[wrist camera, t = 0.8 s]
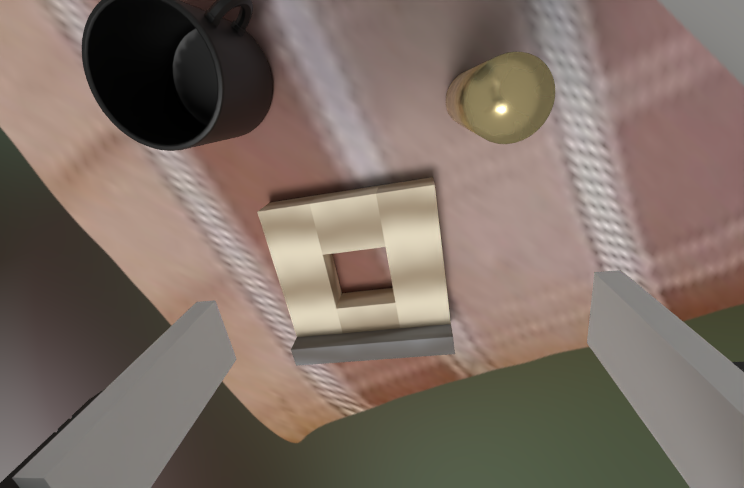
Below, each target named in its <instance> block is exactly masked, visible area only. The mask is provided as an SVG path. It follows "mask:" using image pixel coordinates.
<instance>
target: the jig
mask: <svg viewBox="0 0 744 488" xmlns="http://www.w3.org/2000/svg"><path fill="white" fill-rule="evenodd" d="M258 215H259V218H260V221H261V225H262V228H263V231H264V234H265V237H266V240H267V244H268V247H269V250H270V253H271V256H272V259H273V263H274V266H275V269H276V272H277V275H278V278H279V282H280V285H281V288H282V291H283V294H284V298H285V301H286V304H287V307H288V310H289V313H290V317H291V320H292V323H293V326H294V329H295V332H296V336H297V338H296V340H295V343H294V345H293V347H292V349H291V351H292V354H293V357H294V360H295V363H296V365H309V364H323V363H337V362H351V361H365V360H378V359H392V358H406V357H420V356H433V355H447V354H455V350H454V342H453V334H452V328H451V322H450V313H449V305H448V296H447V287H446V279H445V270H444V261H443V253H442V244H441V236H440V227H439V218H438V210H437V201H436V192H435V184H434V180H433V177H431V178H424V179H418V180H411V181H405V182H399V183H392V184H386V185H379V186H373V187H367V188H360V189H354V190H347V191H341V192H334V193H328V194H322V195H315V196H309V197H302V198H296V199H290V200H283V201H277V202H270V203H269V204H267V205H266V206H265V207H263V208H262V209H260V210H259V211H258ZM380 247H386V252H387V258H388V263H389V269H390V274H391V280H392V286H393V288H387V289H377V290H368V291H358V292H349V293H342V292H341V288H340V284H339V279H338V275H337V271H336V267H335V263H334V259H333V255H332V253H340V252H348V251H356V250H364V249H372V248H380Z"/></svg>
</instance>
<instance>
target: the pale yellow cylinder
mask: <svg viewBox="0 0 744 488" xmlns="http://www.w3.org/2000/svg"><path fill="white" fill-rule="evenodd" d="M554 99H555V84H554V79H553V76H552V74H551V72H550V70H549V68H548V67H547V65H546V64H545V63H544V62H543V61H542V60H540V59H539V58H538V57H536V56H534V55H532V54H528V53H524V52H510V53H506V54H502V55H500V56H497V57H495V58H493V59H491V60H489V61H487V62H485V63H482V64H480V65H478V66H476V67H474V68H472V69H469V70H467V71H465V72H463V73H461V74H460V75H459V76H457V77H456V78H455V79H454V80H453V82H452V83H451V85H450V86H449V88H448V91H447V95H446V107H447V111H448V113H449V115H450V116H451V118H452V119H453V120H454V121H455V122H457V123H458V124H460V125H462V126H463V127H465V128H467V129H469V130H470V131H472V132H474V133H476V134H477V135H479V136H481V137H482V138H484V139H486V140H488V141H490V142H494V143H498V144H510V143H515V142H519V141H521V140H524V139H526V138H528V137H529V136H531V135H532V134H534V133H535V132H536V131H537V130H538V129H539V128H540V127H541V126H542V125H543V124H544V122H545V121H546V119H547V118H548V116H549V114H550V112H551V110H552V107H553V104H554Z"/></svg>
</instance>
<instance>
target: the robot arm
mask: <svg viewBox="0 0 744 488" xmlns="http://www.w3.org/2000/svg"><path fill="white" fill-rule="evenodd" d="M587 343H588V345H589V346H590V348H591V349H592V350H593V352H594V353H595V355H596V356H597V358H598V359H599V360H600V362H601V363H602V364H603V366H604V367H605V369H606V370H607V372H608V373H609V374H610V376H611V377H612V379H613V380H614V381H615V383H616V384H617V385H618V387H619V388H620V390H621V391H622V393H623V394H624V395H625V397H626V398H627V399H628V401H629V402H630V404H631V405H632V406H633V408H634V409H635V411H636V412H637V414H638V415H639V416H640V418H641V419H642V421H643V422H644V423H645V425H646V426H647V428H648V429H649V430H650V432H651V433H652V435H653V436H654V437H655V439H656V440H657V442H658V443H659V444H660V446H661V447H662V449H663V450H664V451H665V453H666V454H667V456H668V457H669V459H670V460H671V461H672V463H673V464H674V466H675V467H676V468H677V470H678V471H679V473H680V474H681V475H682V477H683V478H684V480H685V481H686V482H687V484H688V485H689V486H690V488H744V362H731V361H730V360H728V359H727V358H726V357H725V356H724V355H722V354H721V353H720V352H719V351H717V350H716V349H715V348H714V347H713V346H712V345H710V344H709V343H708V342H707V341H705V340H704V339H703V338H702V337H701V336H699V335H698V334H697V333H696V332H695V331H693V330H692V329H691V328H690V327H689V326H687V325H686V324H685V323H684V322H683V321H681V320H680V319H679V318H678V317H677V316H675V315H674V314H673V313H672V312H671V311H669V310H668V309H667V308H666V307H664V306H663V305H662V304H661V303H660V302H658V301H657V300H656V299H655V298H654V297H652V296H651V295H650V294H649V293H648V292H646V291H645V290H644V289H643V288H642V287H640V286H639V285H638V284H637V283H636V282H634V281H633V280H632V279H631V278H630V277H628V276H627V275H626V274H625V273H623V272H622V271H621V270H619V271H605V272H594V282H593V292H592V301H591V311H590V320H589V330H588V340H587ZM235 361H236V356H235V354H234V351H233V348H232V345H231V343H230V340H229V337H228V334H227V331H226V329H225V326H224V323H223V320H222V318H221V315H220V312H219V309H218V307H217V304H216V301H203V302H196V303H195V304H194V305H193V306H192V307H191V308H190V309H189V310H188V311H187V312H186V313H185V314H184V315H183V316H181V317H180V318H179V319H178V320H177V321H176V322H175V323H174V324H173V325H172V326H171V327H170V328H169V329H168V330H167V331H166V332H165V333H164V334H163V335H162V336H160V337H159V338H158V339H157V340H156V341H155V342H154V343H153V344H152V345H151V346H150V347H149V348H148V349H147V350H146V351H145V352H144V353H143V354H142V355H141V356H139V357H138V358H137V359H136V361H134V362H133V363H132V364H131V365H130V366H129V367H128V368H127V369H126V370H125V371H124V372H123V373H122V374H121V375H120V376H119V377H117V378H116V379H115V381H113V382H112V383H111V384H110V385H109V386H108V387H107V388H106V389H104V390H103V391H101V392H100V393H98V394H97V395H95V396H94V397H92V398H91V399H89V400H88V401H87V402H86V403H85V404H84V405H83V406H82V407H81V408H80V409H79V410H77V411H76V412H75V413H74V414H73V415H72V418H71V419H68V420H67V421H66V422H65V423H64V424H63V425H61V426H60V427H59V428H58V431H57V432H54V433H53V434H52V435H51V436H50V437H49V438H48V439H47V440H46V441H44V442H43V443H42V444H41V445H40V446H39V447H38V448H37V449H36V450H35V451H34V452H33V453H32V454H31V455H29V456H28V457H27V458H26V459H25V460H24V461H23V462H22V463H21V464H20V465H19V466H18V467H17V468H16V469H15V470H14V471H12V472H11V473H10V474H9V475H8V476H7V477H6V478H5V479H4V480H3V481H2V482H1V483H0V488H151V486H152V485H153V483H154V482H155V480H156V479H157V477H158V476H159V474H160V473H161V471H162V470H163V468H164V467H165V465H166V464H167V462H168V461H169V459H170V458H171V456H172V455H173V453H174V452H175V450H176V449H177V447H178V446H179V444H180V443H181V441H182V440H183V438H184V437H185V435H186V434H187V432H188V431H189V429H190V428H191V427H192V425H193V424H194V422H195V421H196V419H197V417H198V416H199V415H200V413H201V412H202V410H203V408H204V407H205V406H206V404H207V403H208V401H209V400H210V398H211V396H212V395H213V394H214V392H215V391H216V389H217V388H218V386H219V385H220V383H221V382H222V380H223V379H224V377H225V376H226V374H227V373H228V371H229V370H230V368H231V367H232V365H233V364H234V362H235Z"/></svg>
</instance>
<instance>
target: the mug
mask: <svg viewBox="0 0 744 488" xmlns="http://www.w3.org/2000/svg"><path fill="white" fill-rule="evenodd" d="M237 6H241V8H240V13H239V15H238V17H237V19H236V21H233V22H230V21H228V20H226V19H223V18H222V17H223V16H224V15H225V14H226V13H227V12H228V11H229V10H231V9H232V8H234V7H237ZM252 11H253V5H252V1H251V0H217V1H216V2H215V3H214V4H213V5H212V6H211V8H210V9H209V10H208V9H207V11H204V10H201V9H199V8H197V7H194V6H192V5H189V4H187V3H185V2H182V1H180V0H101V1H100V2H99V3H98V4H97V5H96V7H95V8H94V9H93V11H92V12H91V14H90V16H89V17H88V20H87V23H86V25H85V28H84V33H83V38H82V60H83V67H84V71H85V75H86V79H87V81H88V84H89V87H90V89H91V92H92V94H93V96H94V98H95V99H96V101H97V103H98V104H99V106H100V108H101V109H102V111H103V112H104V113H105V114H106V116H107V117H108V118H109V119H110V120H111V122H112V123H113V124H114V125H115V126H116V127H117V128H119V129H120V130H121V131H122V132H123V133H125V134H126V135H127V136H129V137H130V138H132V139H134V140H135V141H137V142H139V143H141V144H144V145H146V146H149V147H152V148H155V149H159V150H168V151H174V150H183V149H187V148H191V147H196V146H200V145H204V144H209V143H213V142H217V141H222V140H226V139H230V138H235V137H239V136H242V135H245V134H247V133H249V132H251V131H252V130H253V129H255V128H256V127H257V126H258V125H259V124H260V123H261V122H262V120H263V119H264V117H265V116H266V114H267V111H268V109H269V107H270V103H271V98H272V77H271V72H270V68H269V65H268V62H267V59H266V57H265V55H264V53H263V51H262V50H261V48H260V47H259V45H258V44H257V42H256V41H255V40H254V39H253V38H252V36H251V35H250V34H248V33H247V32H246V30H245V29H246V27H247V25H248V23H249V21H250V18H251V15H252Z"/></svg>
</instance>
